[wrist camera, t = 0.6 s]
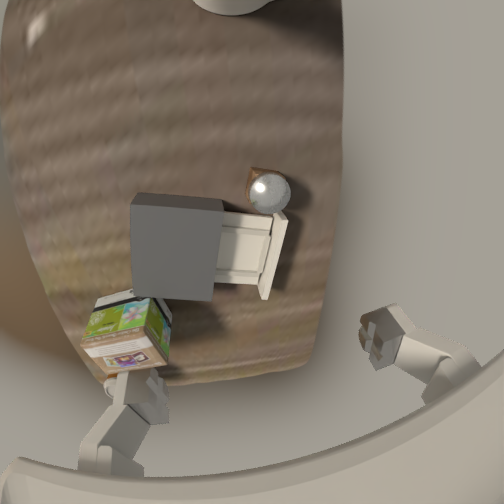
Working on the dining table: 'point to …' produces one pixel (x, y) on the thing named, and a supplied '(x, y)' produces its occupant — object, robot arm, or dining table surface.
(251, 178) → the wooden block
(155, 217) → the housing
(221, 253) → the cream drawer
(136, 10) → the dining table surface
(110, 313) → the tea box
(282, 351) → the dining table surface
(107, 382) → the disposable coffee cup
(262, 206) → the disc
